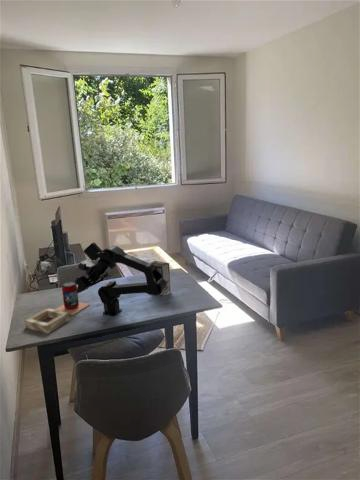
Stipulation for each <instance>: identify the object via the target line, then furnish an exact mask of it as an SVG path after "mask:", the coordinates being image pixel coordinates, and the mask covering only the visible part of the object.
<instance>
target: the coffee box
mask: <svg viewBox="0 0 360 480" xmlns="http://www.w3.org/2000/svg"><path fill="white" fill-rule="evenodd" d="M150 263H151V264H154V266H155V267H156V269H157V270H158V271H159V272H160V273H161V275H162V277H163V278H164V280H165V281H166V283H167V287H166V288H165V289H164V291H163V292H162V293H161V294H160V295H159V296H161V295H165V294H167V293H168V292H170V291H171V278H170V277H171V275H170V273H171V272H170V263H169V262H166V261H165V262H164V261H157V260H154V261H152V262H150ZM153 277H154V276H153ZM154 279H155V277H154ZM170 293H171V292H170ZM167 295H168V294H167Z"/></svg>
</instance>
